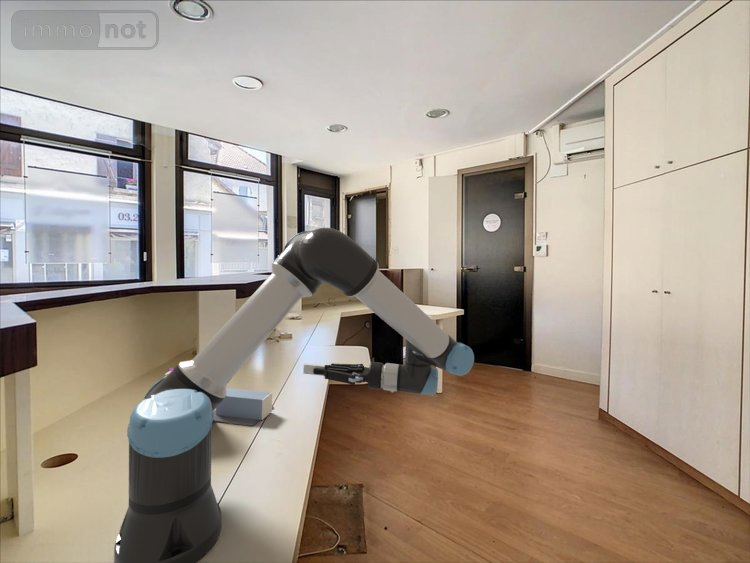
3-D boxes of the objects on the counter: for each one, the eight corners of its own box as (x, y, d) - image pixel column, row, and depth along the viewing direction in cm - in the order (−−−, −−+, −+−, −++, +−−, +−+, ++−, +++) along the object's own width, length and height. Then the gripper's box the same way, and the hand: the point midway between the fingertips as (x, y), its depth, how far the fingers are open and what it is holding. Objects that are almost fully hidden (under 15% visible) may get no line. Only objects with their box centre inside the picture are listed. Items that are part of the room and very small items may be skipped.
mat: (253, 426, 96) (253, 424, 96) (201, 420, 99) (201, 419, 99) (273, 407, 109) (273, 406, 109) (227, 403, 111) (227, 401, 111)
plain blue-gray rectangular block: (263, 399, 99) (216, 395, 101) (262, 419, 99) (215, 414, 102) (272, 392, 105) (227, 388, 107) (271, 411, 105) (227, 406, 108)
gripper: (379, 397, 91) (295, 388, 94) (385, 382, 103) (311, 374, 107) (380, 369, 90) (296, 361, 94) (386, 357, 103) (312, 350, 107)
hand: (304, 368), depth 100 cm, fingers closed
